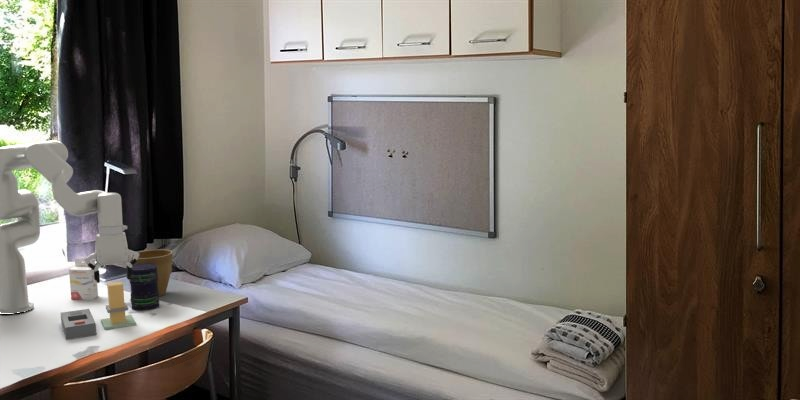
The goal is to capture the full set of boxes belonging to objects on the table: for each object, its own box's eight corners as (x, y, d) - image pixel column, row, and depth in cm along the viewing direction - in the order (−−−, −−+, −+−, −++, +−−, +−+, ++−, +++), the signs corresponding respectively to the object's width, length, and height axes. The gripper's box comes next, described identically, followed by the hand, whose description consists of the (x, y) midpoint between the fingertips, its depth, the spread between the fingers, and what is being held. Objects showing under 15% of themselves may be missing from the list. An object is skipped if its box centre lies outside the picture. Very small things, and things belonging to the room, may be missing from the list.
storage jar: (126, 307, 283) (123, 266, 280) (151, 301, 289) (149, 261, 287) (139, 312, 276) (136, 271, 273) (164, 306, 282) (162, 266, 280)
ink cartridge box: (70, 299, 293) (67, 261, 291) (77, 295, 298) (74, 258, 296) (92, 299, 292) (89, 261, 290) (98, 296, 297) (95, 258, 295)
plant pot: (181, 289, 305) (178, 249, 302) (166, 300, 290) (163, 258, 288) (144, 288, 306) (141, 248, 304) (127, 299, 292) (124, 257, 289)
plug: (106, 319, 265) (103, 282, 263) (126, 317, 268) (123, 280, 266) (109, 325, 260) (106, 287, 258) (129, 322, 263) (126, 284, 261)
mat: (100, 321, 266) (100, 319, 266) (131, 317, 271) (131, 314, 271) (104, 329, 258) (104, 327, 257) (136, 324, 262) (136, 322, 262)
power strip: (61, 324, 264) (60, 310, 264) (89, 319, 268) (88, 306, 268) (66, 339, 249) (65, 325, 248) (96, 334, 253) (95, 321, 252)
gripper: (136, 225, 266) (138, 274, 269) (81, 230, 258) (84, 280, 261) (139, 230, 260) (142, 280, 263) (84, 234, 252) (87, 286, 255)
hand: (113, 280), depth 262 cm, fingers open, 9 cm apart
